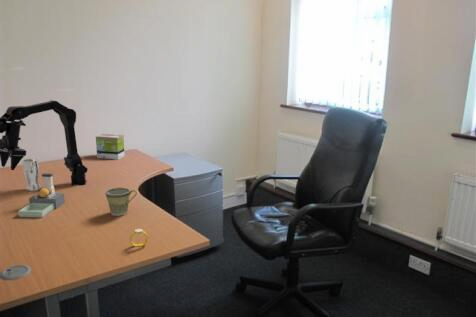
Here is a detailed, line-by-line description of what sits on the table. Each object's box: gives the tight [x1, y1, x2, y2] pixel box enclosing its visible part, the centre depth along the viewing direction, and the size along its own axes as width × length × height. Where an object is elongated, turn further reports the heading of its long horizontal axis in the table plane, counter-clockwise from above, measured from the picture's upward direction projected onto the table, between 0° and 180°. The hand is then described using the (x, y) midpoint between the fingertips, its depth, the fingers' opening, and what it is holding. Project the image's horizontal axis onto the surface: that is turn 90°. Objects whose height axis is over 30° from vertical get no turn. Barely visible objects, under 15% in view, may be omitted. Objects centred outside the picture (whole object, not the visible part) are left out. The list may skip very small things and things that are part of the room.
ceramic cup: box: [105, 187, 138, 217], centre depth 180 cm, size 13×10×10 cm
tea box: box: [95, 133, 125, 161], centre depth 275 cm, size 15×10×15 cm
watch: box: [129, 228, 149, 248], centre depth 150 cm, size 6×3×6 cm, turn 108°
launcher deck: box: [28, 191, 66, 210], centre depth 189 cm, size 8×12×6 cm, turn 86°
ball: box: [38, 188, 49, 198], centre depth 186 cm, size 4×4×4 cm
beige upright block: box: [41, 173, 56, 195], centre depth 189 cm, size 2×4×9 cm, turn 86°
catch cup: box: [17, 203, 55, 218], centre depth 181 cm, size 10×10×2 cm
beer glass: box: [22, 158, 41, 192], centre depth 210 cm, size 7×7×15 cm
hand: (7, 168), depth 192 cm, fingers open, 9 cm apart
